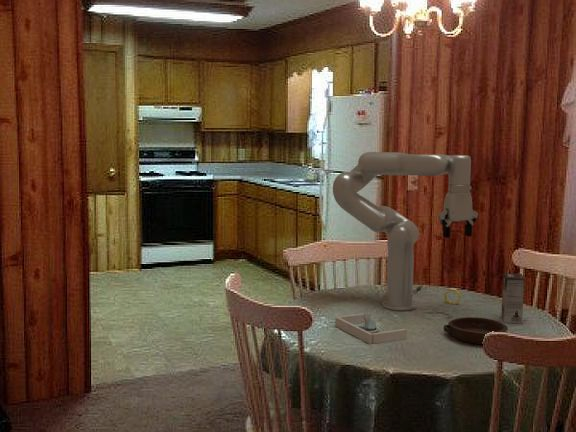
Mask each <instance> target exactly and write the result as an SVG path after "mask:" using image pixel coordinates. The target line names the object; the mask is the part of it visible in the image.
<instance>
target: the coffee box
mask: <svg viewBox="0 0 576 432" xmlns="http://www.w3.org/2000/svg"><path fill="white" fill-rule="evenodd" d="M502 274H503V275H502V294H501V295H502V296H501V297H502V298H501V312H500V313H501V315H500V316H501V318H502V321H503V324H519V325H520V324H523V315H524V314H523V313H524V312H523V311H524V310H523V309H524V295H525V278H524V276H523V274H522V273H509V272H503V273H502Z"/></svg>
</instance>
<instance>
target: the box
mask: <svg viewBox="0 0 576 432" xmlns="http://www.w3.org/2000/svg"><path fill="white" fill-rule="evenodd" d="M368 313H369V316H370V317H372V316H371V312H368ZM363 315H364V313H355V314H349V315H342V316H341V315H340V316H335V318H334V326H335V327H337V328H339V329H340V330H342V331H345V332H346V333H349V334H350V335H352V336H354V337H356V338H357V339H359V340H361V341H364V342H365V343H367V344H369V345H374V344H383V343H387V342H388V343H390V342H394V341H401V340H407V333H408V331H407V329H406V328H402V329H394V330H387V331H378V332H375V333H370V332H368V331H366V330H364V329H362V328H360V327H358V326H357V325H358V324H365V320H364V318H363ZM369 321H371V319H370V320H369Z"/></svg>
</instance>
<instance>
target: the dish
mask: <svg viewBox="0 0 576 432" xmlns="http://www.w3.org/2000/svg"><path fill="white" fill-rule="evenodd" d="M508 329H509V328H508V326H507V325H506V323H504V322H501V321H498V320H496V319H495V320H494V319H491V318H485V317H473V316H472V317H471V316H468V317H466V316H465V317H459V318H454V319H450V321H448V324H444V325H443V331H444V332H445V333H448V334H451V335H453V336H454V337H455V338H456V339H457V340H460V341H463V342H466V343H469V344H474V345H483V344H482V342H483V339H484V336H485V334H487V333H489V332H492V331H494V332H506V333H507V331H508Z"/></svg>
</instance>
